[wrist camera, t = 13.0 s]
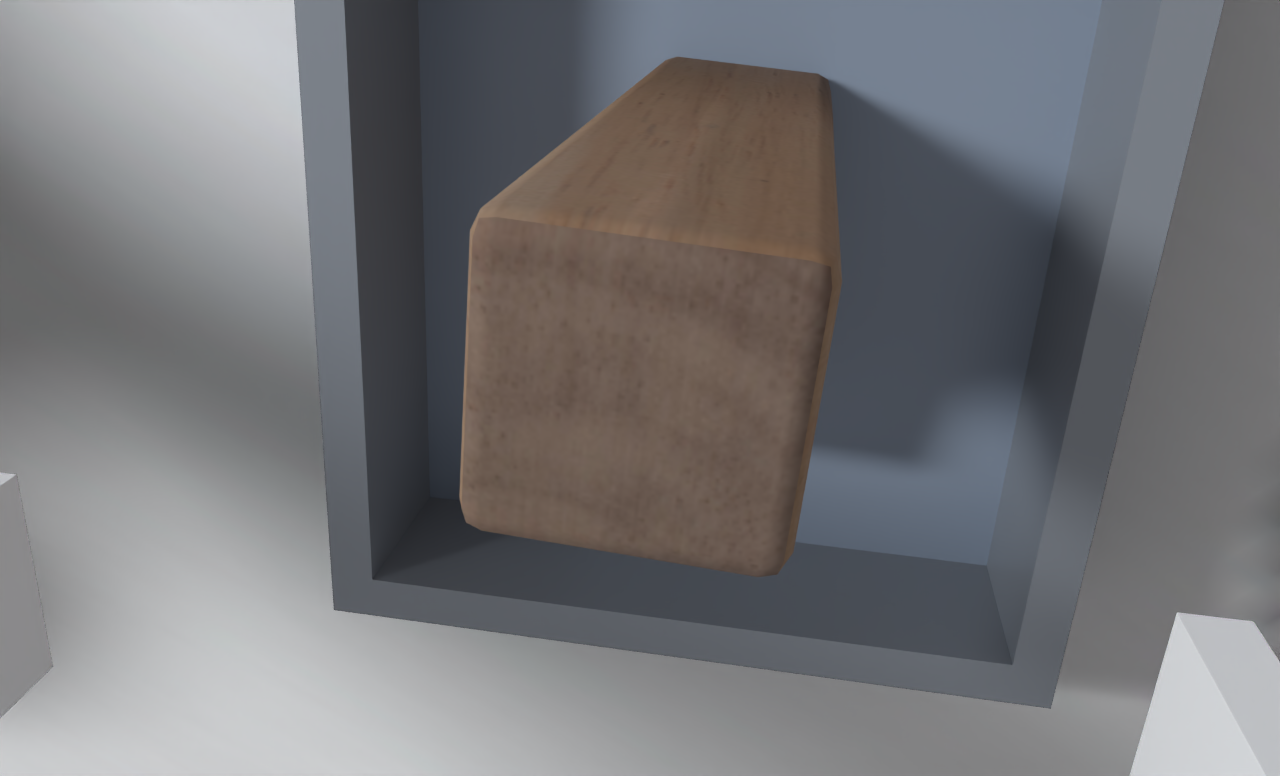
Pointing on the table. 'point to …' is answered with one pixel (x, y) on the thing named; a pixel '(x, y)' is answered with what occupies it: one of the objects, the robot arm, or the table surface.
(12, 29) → the table surface
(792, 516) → the wooden block
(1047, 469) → the open-top box
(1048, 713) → the table surface
